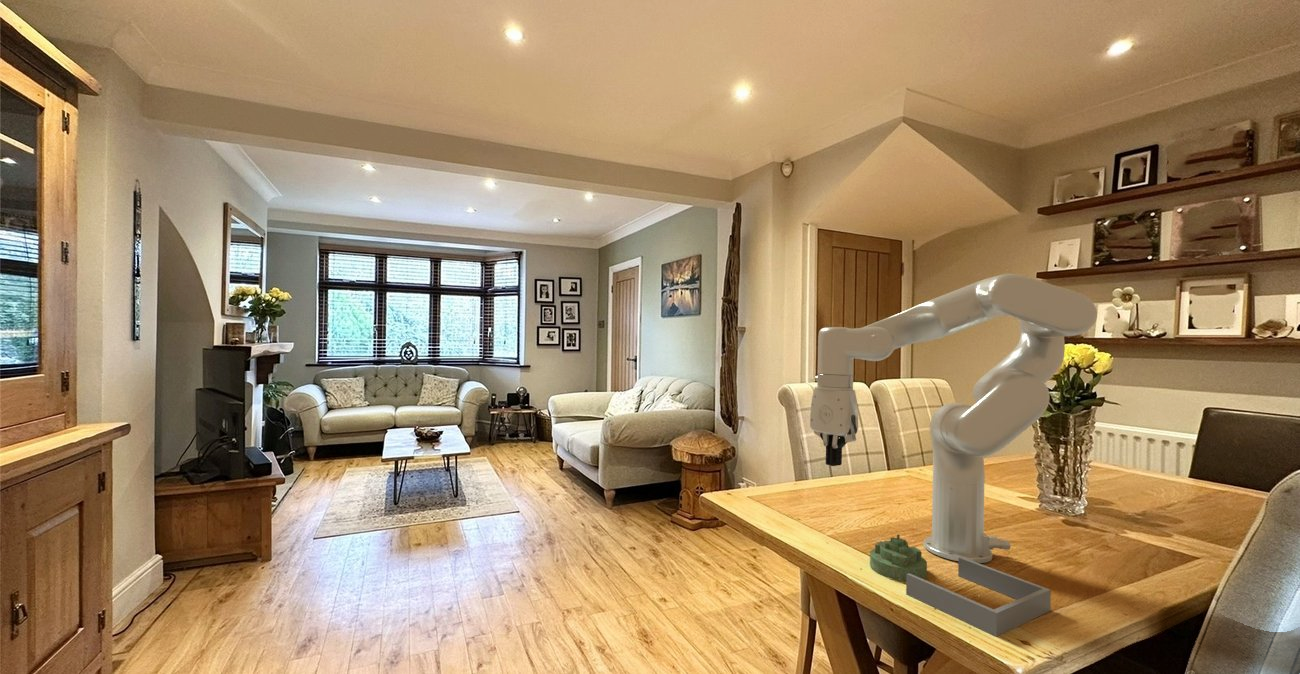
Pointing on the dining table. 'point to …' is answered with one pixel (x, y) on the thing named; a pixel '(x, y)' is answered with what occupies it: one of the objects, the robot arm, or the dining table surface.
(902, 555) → the decorative artifact
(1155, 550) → the dining table surface
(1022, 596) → the box
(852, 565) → the dining table surface
